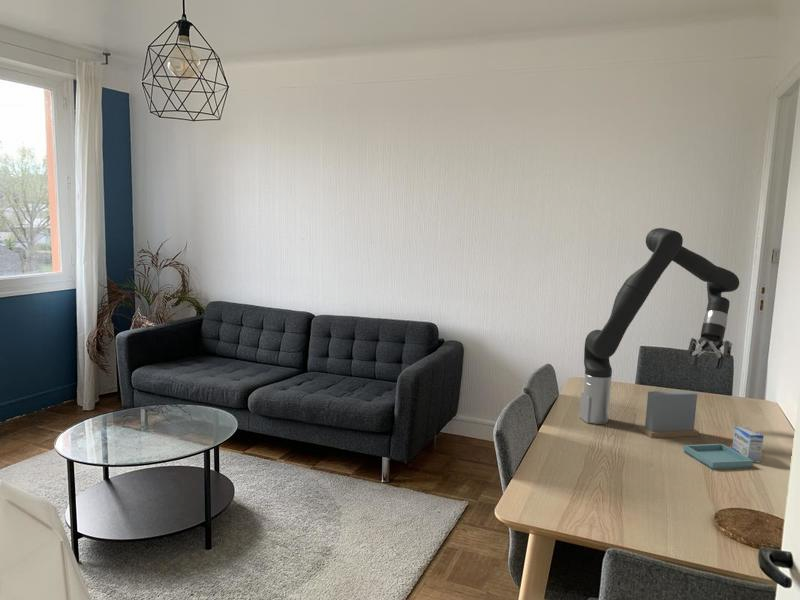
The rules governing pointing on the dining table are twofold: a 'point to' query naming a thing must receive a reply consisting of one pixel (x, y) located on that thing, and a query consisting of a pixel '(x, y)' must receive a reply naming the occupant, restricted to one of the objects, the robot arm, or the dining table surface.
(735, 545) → the dining table surface
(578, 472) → the dining table surface
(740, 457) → the teal tray
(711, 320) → the robot arm
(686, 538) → the dining table surface
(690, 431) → the slate unit
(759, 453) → the medicine box
